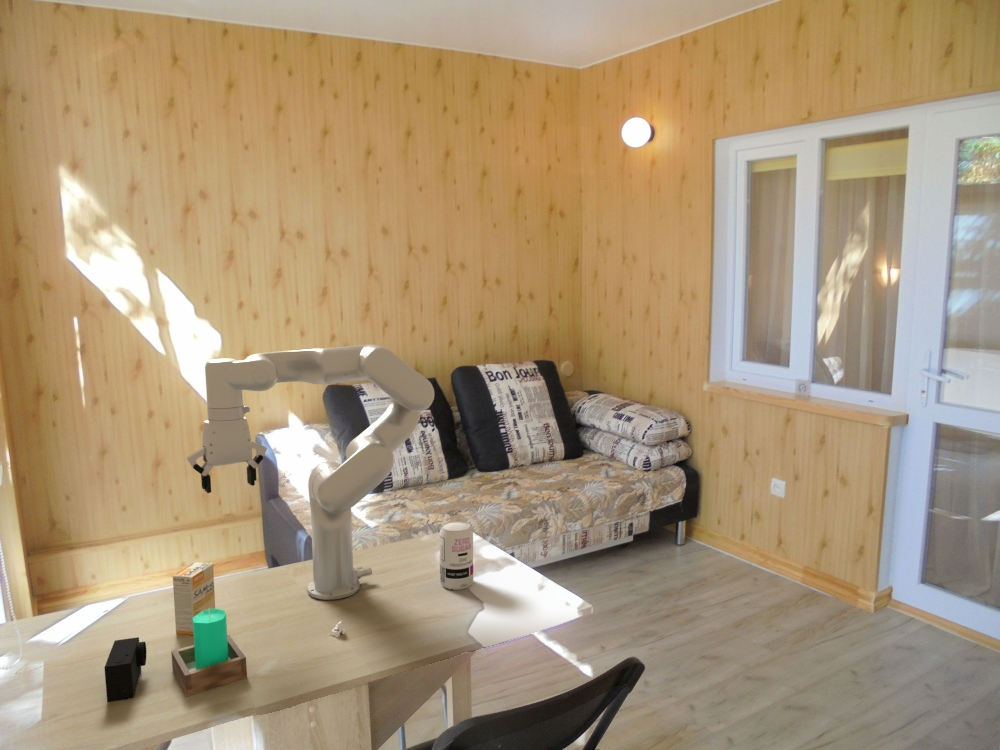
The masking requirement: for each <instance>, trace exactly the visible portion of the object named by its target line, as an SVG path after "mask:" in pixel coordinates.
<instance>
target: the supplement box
mask: <svg viewBox="0 0 1000 750" xmlns="http://www.w3.org/2000/svg"><path fill="white" fill-rule="evenodd" d="M214 572H215V571H214V563H210V562H197V561H195V562H193V563H191V564H190V565H189V566H187V567H185V568H184V569H182V570H181V571H179V572H177V573H176V574H173V575H172V586H173V603H174V617H175V618H174V620H175V633H176V634H181V635H190V636H194V633H193V617H195V616H196V615H198V614H199V613H200V612H202V611H204V610H208V608H209V609H216V599H215V598H216V596H215V576H214V575H215V574H214Z"/></svg>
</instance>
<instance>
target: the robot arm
mask: <svg viewBox="0 0 1000 750" xmlns="http://www.w3.org/2000/svg"><path fill="white" fill-rule="evenodd" d="M204 366H205V367H204V372H205V375H204V376H205V387H206V388H205V390H206V391H205V392H206V406H207V408H206V409H207V420H204V421H203V426H202V437H201V438H202V439H201V441H202V445H201V448H199V449H198V450H195V452H193V453H192V454H190V455H188V456H187V457H186V460H187V461H188V464H190V466H191V467H192V469H193V470H195V471H196V472H198V473H199V474H200V477H201V480H200V481H201V488H202V490H204V491H205V493H207V494H211V493H212V480H211V475H209V474H210V471H212V469H213V468H214V467H220V466H226V465H233V464H240V463H247V464H248V466H247V467H246V479H247V480H246V481H247V484H248V485H250V486H252V487H253V486H255V485H256V484H255V482H256V481H257V468H258V466H259V464H260V463H261V462H262V461H263V459H264V456H265V454H266V452H267V450H268V448H267V446H265V445H262V444H260V443H256V442H254V441H252V438H251V437H252V435H251V432H250V427H249V422H248V419H247V417H246V416H245V414H247V413H250V411H251V408H250V406H249V405H248V406H246V405H244V401H243V400H244V399H243V398H244V397H243V391H246V392H247V391H248V392H249V391H250V392H264V391H268V390H270V389H272V388H273V387H275V385H276V384H278V383H286V382H287V383H290V382H291V383H293V382H298V383H299V382H300V383H308V384H313V385H332V384H340V383H343V384H344V383H348V382H349V383H350V382H360V381H370V382H371V383H373V384H374V385H375V386H377V387H378V388H379V389H380V390H381V391H382V392H384V393H385V394H387V396H389V403H388V406H387V408H386V409H385V411H384V412H383V414H382V415H381V416H379V418H377V420H375V421H374V422H373V423H372V424H370V425H369V426H368V427H367V428H366V429H364V430H363V431H362V432H361V433H360V434H359V435H357V436H356V437H355V438H353V439H352V440H350V442H349V443H348V445H347V446H346V449H345V457H346V458H345V459H346V460H345V461H344V462H343V463H341V464H340V463H338V462H336V461H323V462H321V463H318V464H317V465H316V466H315V467H314V468H313V469H312V470H311V473H310V474H309V477H308V483H307V484H308V485H307V486H308V497H309V498H308V499H309V505H310V506H309V507H310V522H311V548H312V550H311V551H312V573H313V574H312V575H313V580H312V581H310V582H309V583H308V585H307V586H306V589H307V590H306V591H307V595H309V596H310V597H312V598H314V599H317V600H324V601H325V600H326V601H329V600H339V599H345V598H348V597H351V596H352V595H354V594H356V593H357V592H358V591H359V590H360V588H361V582H360V579H361V578H362V577H367V576H371V575H372V574H373V570H372V567H370V566H369V567H365V568H363V566H361V565H360V566H355V567H354V553H353V549H354V548H353V517H352V508H353V507H354V506H356V505H357V504H358V503H360V502H361V501H362V500H363V499H364V498H365V497H366V496H368V494H370V493H371V492H372V491H373V490H374V489H376V488H377V487H378V486H379V485H380V484H381V483H382V482H384V481H385V480H386V479H387V477H388V476H389V475H390V473H391V471H392V469H393V467H394V464H395V463H394V462H395V460H394V459H395V457H394V452H395V451H396V450H397V449H398V448H400V446H401V445H402V444H404V443H405V442H406V441H407V440H408V439H409V438H410V437H411V436H412V434H414V432H415V430H416V428H417V426H418V423H419V421H420V417H421V413H422V412H423V411H427V409H429V408H430V407H431V406H432V404H433V402H434V400H435V389H434V387H433V384H432V383H431V381H430V380H429V379H428V378H426V377H425V376H424V375H422V374H421V373H419V372H418V371H417V370H415V369H414V368H413V367H412V366H410V365H409V364H408V363H407V362H406V361H404V360H403V359H401V357H399V356H398V355H397V354H396V353H395V352H393V351H392V350H390V349H389V348H387V347H384V346H382V345H379V344H373V343H372V344H371V343H366V344H357V345H346V346H337V347H336V346H335V347H326V348H325V347H324V348H311V349H310V348H309V349H299V350H298V349H297V350H284V351H283V350H282V351H281V350H280V351H273V352H272V351H271V352H270V351H269V352H262V353H260V352H259V353H255V354H251V355H249V356H247V357H246V358H245V359H243V360H238V359H236V358H227V357H226V358H224V357H223V358H214V359H210V360H208V361H206V363H205V365H204ZM253 449H255V450H257V454H256V455H255V456H254V458H253ZM199 458H202V460H203V462H204V463H203V464H202V465H201V466H200V465H199V463H198V462H197V460H198V459H199Z"/></svg>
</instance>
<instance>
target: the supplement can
mask: <svg viewBox="0 0 1000 750" xmlns="http://www.w3.org/2000/svg"><path fill="white" fill-rule="evenodd" d="M439 582H440V584H441V585H442V586H443V587H444V588H445V589H447V588H448V590H451V589H453V590H452V591H461V590H465V589H467V588H469V587H470V586H471V585H473V583H474V531H473V529H472V526H471V524H470V523H469V522H465V521H462V520H461V521H459V520H458V521H448V522H445V523H443V524H442V526H441V527H440V531H439Z"/></svg>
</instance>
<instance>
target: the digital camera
mask: <svg viewBox="0 0 1000 750" xmlns="http://www.w3.org/2000/svg"><path fill="white" fill-rule="evenodd" d="M146 664H147V644H146V641H140V637H139V636H138V637H132V638H131V637H130V638H125V639H124V638H123V639H117V640H114V641H113V644H112V647H111V650H110V652H109V654H108V657H107V659H106V663H105V665H104V667H103V668H104V677H105V690H106V702H107V703H112V702H119V701H124V700H125V701H126V700H131V699H133V698H134V696H135V692H136V690H137V687H138V682H139V680H140V675H141V672H142V667H145V666H146Z"/></svg>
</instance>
